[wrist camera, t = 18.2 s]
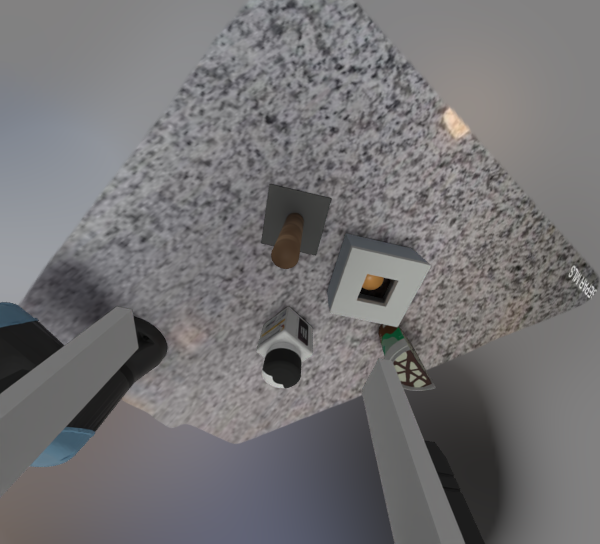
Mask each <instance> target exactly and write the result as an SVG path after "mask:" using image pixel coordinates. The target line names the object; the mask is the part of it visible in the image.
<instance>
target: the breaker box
mask: <svg viewBox="0 0 600 544" xmlns="http://www.w3.org/2000/svg"><path fill="white" fill-rule="evenodd" d="M430 267H431V265H430V264H429V263H428V262H427V261H426V260H425V259H423V258H422V257H421V256H420V255H419V254H418V253H417V252H415V251H414V250H413V249H412V248H408V247H403V246H399V245H395V244H390V243H386V242H382V241H377V240H373V239H368V238H364V237H360V236H355V235H351V234H345V237H344V240H343V243H342V247H341V250H340V253H339V256H338V259H337V262H336V265H335V268H334V271H333V274H332V278H331V281H330V284H329V287H328V290H327V295H328V303H329V312H330V313H331V314H336V315H341V316H346V317H350V318H355V319H360V320H365V321H370V322H374V323H379V324H384V325H389V326H394V327H398V326H399V324H400V322H401V320H402V318H403V317H404V315H405V313H406V311H407V309H408V307H409V306H410V304H411V302H412V300H413V298H414V296H415V295H416V293H417V291H418V289H419V287H420V285H421V284H422V282H423V280H424V278H425V276H426V274H427V273H428V271H429V269H430ZM367 274H370V275H375V276H379V277H384V278H388V279H392V280H391V282H390V284H389V286H388V288H387V290H386V292H385V295H384V297H383V298H378V297H373V296H369V295H364V294H359V293H360V291H361V288H362V286H363V283H364V281H365V278H366V276H367Z"/></svg>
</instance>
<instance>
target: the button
mask: <svg viewBox="0 0 600 544" xmlns="http://www.w3.org/2000/svg"><path fill="white" fill-rule="evenodd" d="M383 279H384V278H383V277H379V276H375V275H370V274H367V276H366V278H365V281H364V283H363V286H362V287H363V288H364V289H367V290H374V289H376V288H378V287H379V286H381V284H382V283H383Z"/></svg>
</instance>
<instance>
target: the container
mask: <svg viewBox="0 0 600 544" xmlns="http://www.w3.org/2000/svg"><path fill="white" fill-rule="evenodd" d="M256 352H257V353H259V354H260V355H261V356H263V357H264V358H265V361H264V365H263V369H262V376H263V378H264V380H265V381H266V382H267V383H268V384H269V385H271V386H274V387H277V388H289V387H292V386H294V385H295V384H296V383H297V382H298V381H299V380H300V377H301V362H303V361H304V360H306V359H307V358H309V357H311V356H312V355H313V328H312V327H311V326H310V325H309V324H308V323H307V322H306V321H305V320H304V319H302V318H301V317H300V316H299V315H298V314H297V313H296V312H295V311H293V310H292V309H291V308H290V307H287V308H285V309H284V310H283V311H281V312H280V313H279V314H277V315H276V316H275V317H273V318H272V319H271V320H269V321H268V322H267V323H265V324H264V326H263V329H262V333H261V336H260V339H259V343H258V346H257V350H256Z"/></svg>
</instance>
